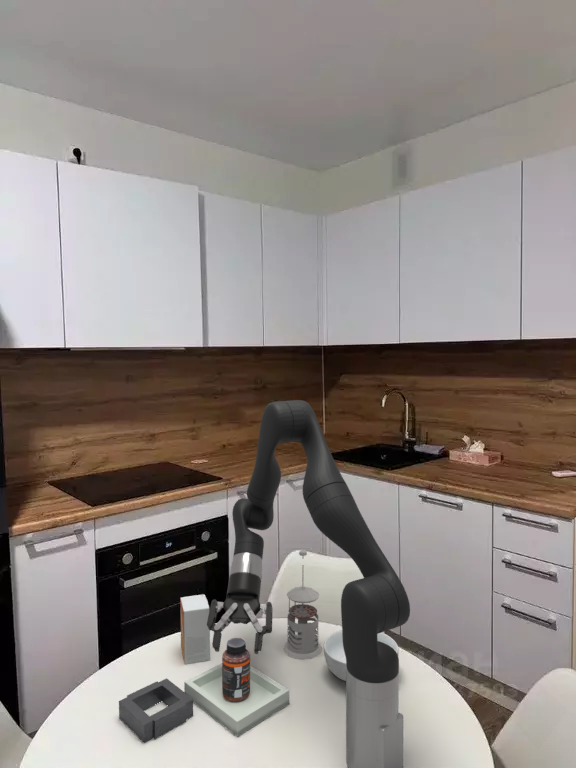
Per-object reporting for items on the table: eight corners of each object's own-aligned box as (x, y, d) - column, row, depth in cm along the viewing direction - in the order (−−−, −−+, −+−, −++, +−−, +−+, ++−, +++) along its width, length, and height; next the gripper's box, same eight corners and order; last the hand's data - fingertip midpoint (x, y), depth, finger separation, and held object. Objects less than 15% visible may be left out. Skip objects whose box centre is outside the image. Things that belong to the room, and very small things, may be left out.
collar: (194, 717, 107) (194, 700, 107) (145, 744, 99) (145, 726, 99) (165, 693, 115) (165, 677, 114) (117, 716, 107) (117, 699, 107)
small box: (180, 647, 133) (179, 596, 133) (205, 643, 135) (205, 593, 134) (183, 665, 125) (183, 611, 125) (210, 660, 127) (210, 607, 127)
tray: (289, 704, 111) (289, 690, 111) (237, 737, 101) (237, 721, 101) (235, 669, 124) (235, 656, 124) (184, 695, 114) (184, 681, 114)
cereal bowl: (374, 649, 132) (374, 621, 132) (413, 687, 117) (413, 656, 116) (312, 663, 126) (312, 634, 126) (344, 705, 110) (344, 672, 110)
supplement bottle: (245, 705, 109) (245, 651, 109) (218, 701, 110) (218, 648, 110) (253, 687, 115) (253, 636, 114) (227, 684, 116) (227, 633, 116)
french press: (292, 663, 126) (293, 559, 125) (274, 639, 137) (274, 544, 136) (329, 654, 130) (329, 553, 129) (308, 632, 141) (309, 539, 140)
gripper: (212, 569, 122) (200, 644, 111) (274, 571, 120) (267, 648, 109) (218, 582, 127) (206, 655, 116) (277, 585, 126) (271, 658, 115)
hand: (236, 651), depth 113 cm, fingers open, 8 cm apart
